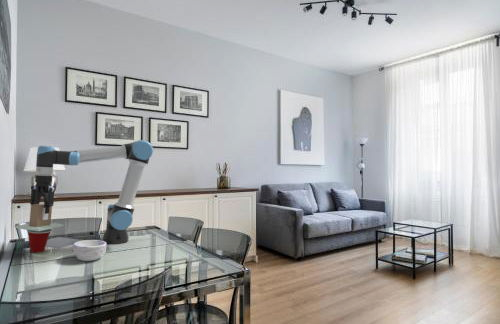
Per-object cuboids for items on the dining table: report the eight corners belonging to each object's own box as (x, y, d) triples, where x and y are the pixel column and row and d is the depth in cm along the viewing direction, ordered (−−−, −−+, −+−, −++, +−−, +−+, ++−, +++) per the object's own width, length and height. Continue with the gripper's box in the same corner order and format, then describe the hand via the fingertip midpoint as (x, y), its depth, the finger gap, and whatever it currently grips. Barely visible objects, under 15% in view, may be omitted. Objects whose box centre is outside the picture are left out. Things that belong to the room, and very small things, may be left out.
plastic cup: (37, 255, 155) (39, 232, 156) (19, 253, 158) (21, 229, 158) (55, 250, 166) (56, 228, 166) (38, 248, 168) (40, 226, 168)
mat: (85, 241, 188) (85, 240, 188) (58, 249, 168) (58, 248, 168) (58, 237, 192) (58, 236, 193) (29, 244, 173) (29, 244, 173)
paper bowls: (112, 257, 161) (113, 241, 162) (88, 265, 147) (89, 248, 147) (89, 252, 166) (90, 237, 167) (64, 259, 152) (65, 243, 152)
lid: (63, 226, 168) (65, 204, 168) (38, 231, 153) (40, 207, 153) (41, 223, 171) (42, 201, 171) (14, 228, 157) (16, 204, 157)
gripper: (23, 173, 161) (20, 218, 161) (51, 176, 157) (48, 222, 156) (36, 173, 168) (33, 216, 168) (64, 176, 164) (60, 219, 164)
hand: (40, 219), depth 162 cm, fingers closed on lid, 5 cm apart
